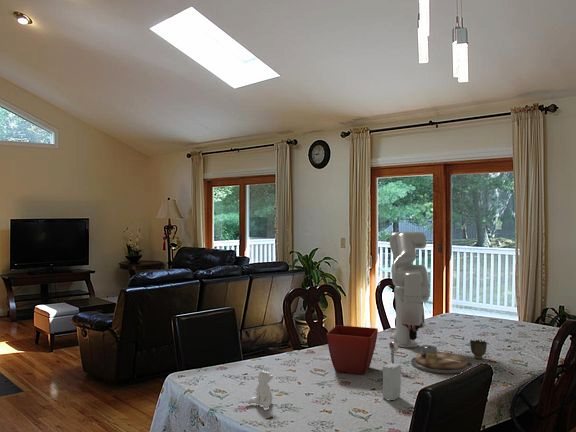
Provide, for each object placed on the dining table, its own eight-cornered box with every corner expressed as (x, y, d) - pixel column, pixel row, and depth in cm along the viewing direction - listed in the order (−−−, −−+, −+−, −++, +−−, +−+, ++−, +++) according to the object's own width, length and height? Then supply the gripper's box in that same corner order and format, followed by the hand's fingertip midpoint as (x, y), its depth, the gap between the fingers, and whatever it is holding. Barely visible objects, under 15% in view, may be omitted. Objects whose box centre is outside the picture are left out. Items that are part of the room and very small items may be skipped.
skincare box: (390, 394, 195) (390, 362, 195) (401, 397, 192) (401, 364, 192) (382, 399, 190) (381, 366, 190) (393, 402, 187) (392, 368, 187)
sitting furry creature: (244, 406, 183) (244, 372, 183) (258, 398, 191) (258, 366, 191) (266, 411, 178) (266, 376, 178) (279, 403, 186) (279, 370, 186)
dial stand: (384, 368, 228) (384, 340, 228) (390, 365, 232) (390, 338, 232) (396, 371, 224) (396, 343, 224) (402, 368, 228) (402, 341, 228)
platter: (406, 362, 231) (406, 350, 231) (429, 352, 248) (429, 340, 248) (453, 372, 216) (453, 359, 216) (475, 361, 233) (475, 348, 233)
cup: (488, 361, 239) (488, 343, 239) (471, 360, 240) (471, 342, 240) (485, 356, 246) (485, 339, 246) (469, 355, 248) (469, 339, 248)
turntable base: (400, 366, 231) (400, 363, 231) (427, 354, 250) (427, 351, 250) (456, 378, 214) (456, 375, 214) (481, 364, 233) (481, 361, 233)
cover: (418, 356, 236) (417, 346, 236) (425, 352, 241) (425, 344, 241) (432, 358, 231) (432, 349, 231) (439, 355, 236) (439, 346, 236)
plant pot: (378, 365, 232) (378, 327, 232) (370, 378, 214) (370, 337, 214) (336, 361, 238) (336, 324, 238) (325, 373, 220) (325, 333, 220)
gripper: (394, 298, 243) (394, 338, 243) (423, 301, 233) (424, 343, 233) (402, 297, 249) (402, 336, 248) (431, 300, 239) (431, 340, 238)
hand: (413, 339), depth 241 cm, fingers closed
